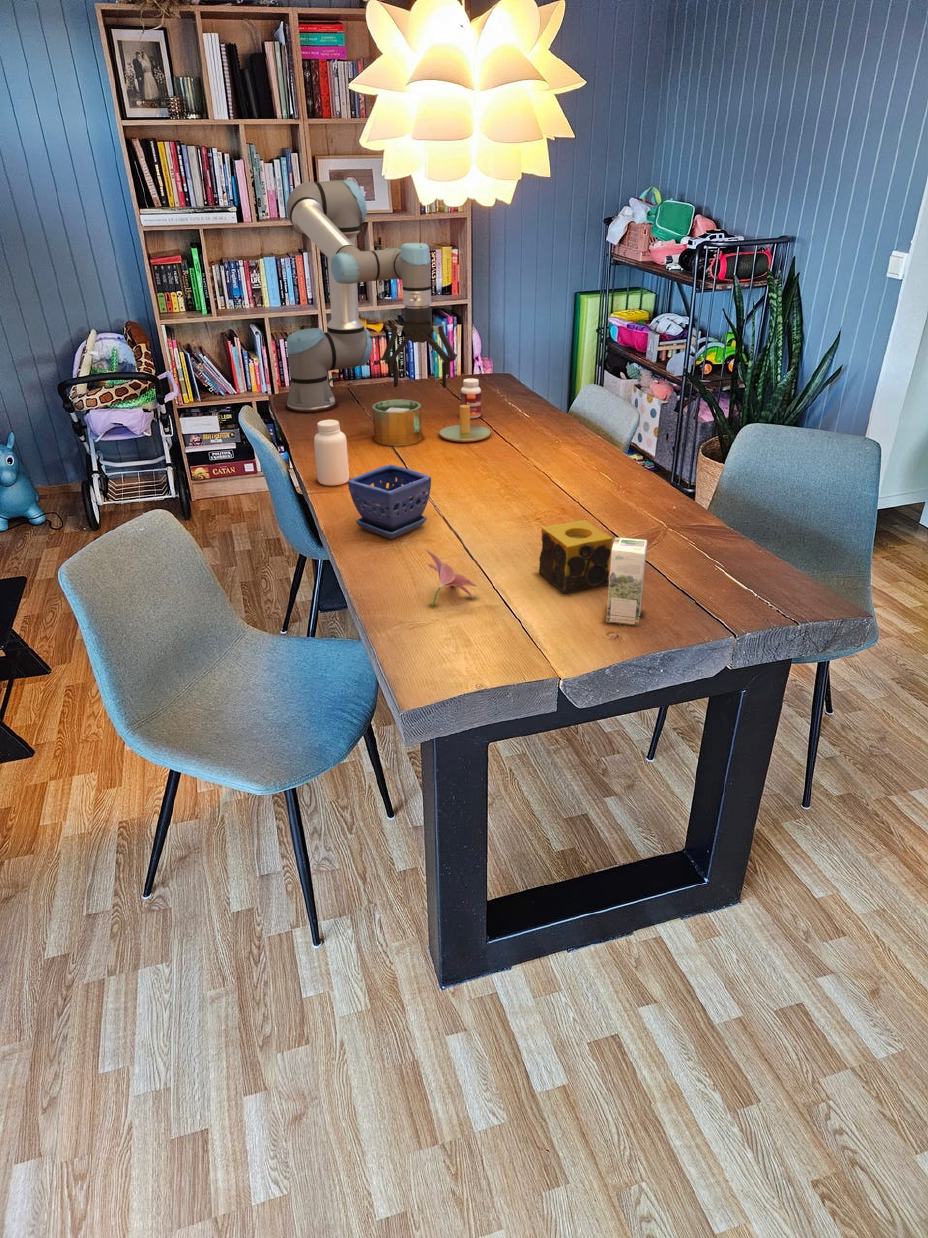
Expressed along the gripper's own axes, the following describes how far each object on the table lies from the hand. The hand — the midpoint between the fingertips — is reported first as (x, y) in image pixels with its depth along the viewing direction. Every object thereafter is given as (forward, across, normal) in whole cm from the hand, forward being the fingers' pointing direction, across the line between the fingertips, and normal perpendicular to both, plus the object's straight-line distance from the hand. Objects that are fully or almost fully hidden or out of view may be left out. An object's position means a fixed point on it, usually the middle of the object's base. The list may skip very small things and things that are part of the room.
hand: (420, 386), depth 245 cm
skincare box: (+14, -7, 0) cm, 16 cm away
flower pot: (+15, +4, -66) cm, 68 cm away
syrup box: (+15, +52, -103) cm, 116 cm away
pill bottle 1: (+15, -17, -37) cm, 43 cm away
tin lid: (+14, +12, +3) cm, 19 cm away
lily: (+15, +20, -98) cm, 101 cm away
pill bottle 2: (+15, +12, +23) cm, 30 cm away
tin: (+15, -7, -1) cm, 16 cm away
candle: (+15, +43, -88) cm, 99 cm away
